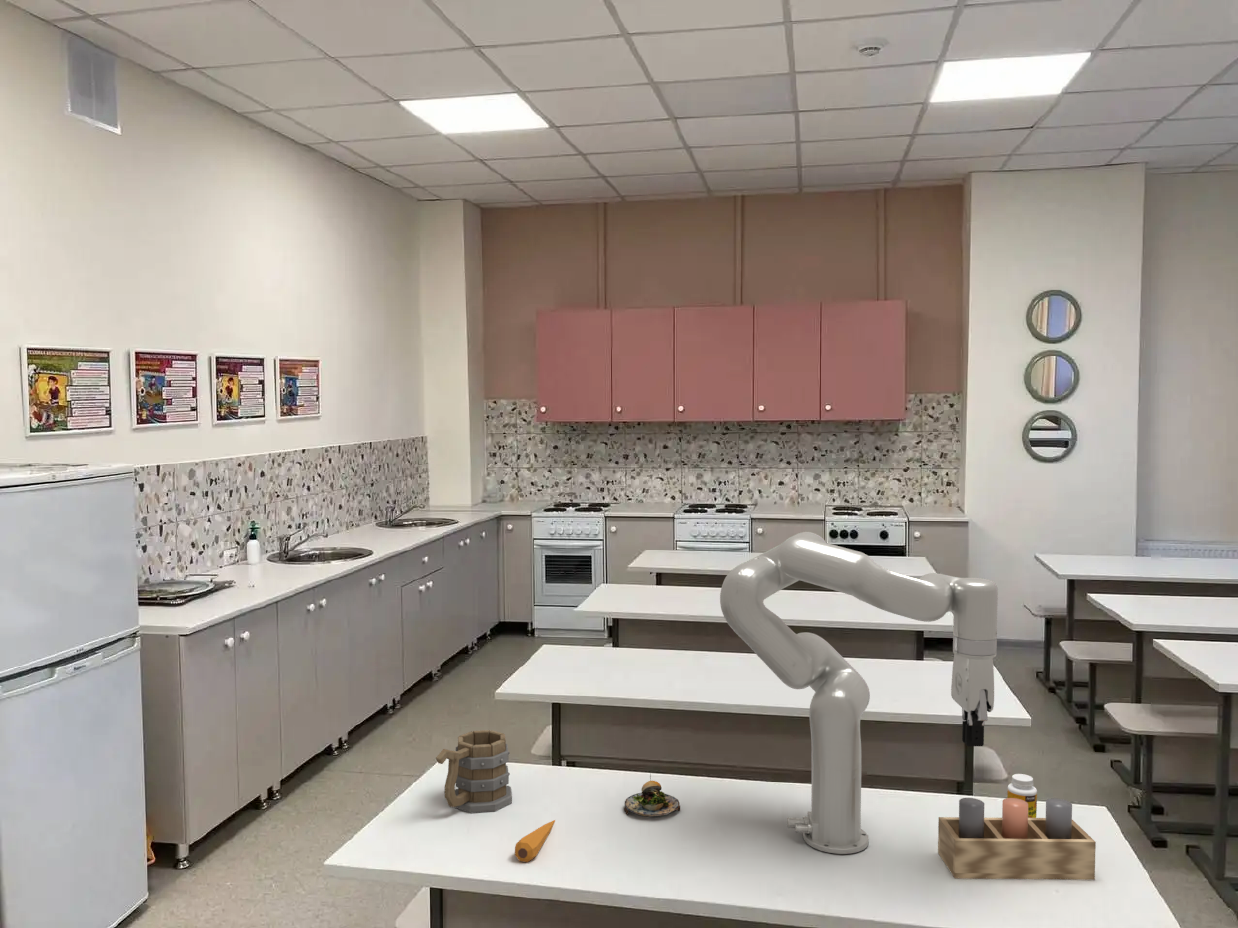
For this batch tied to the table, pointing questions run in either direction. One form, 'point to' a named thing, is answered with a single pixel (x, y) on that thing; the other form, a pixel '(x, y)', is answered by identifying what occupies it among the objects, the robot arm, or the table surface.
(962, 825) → the plunger left
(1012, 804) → the pink cylinder
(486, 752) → the tankard
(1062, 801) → the plunger right
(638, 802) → the burger
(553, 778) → the table surface
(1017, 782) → the supplement bottle
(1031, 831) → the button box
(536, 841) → the carrot
